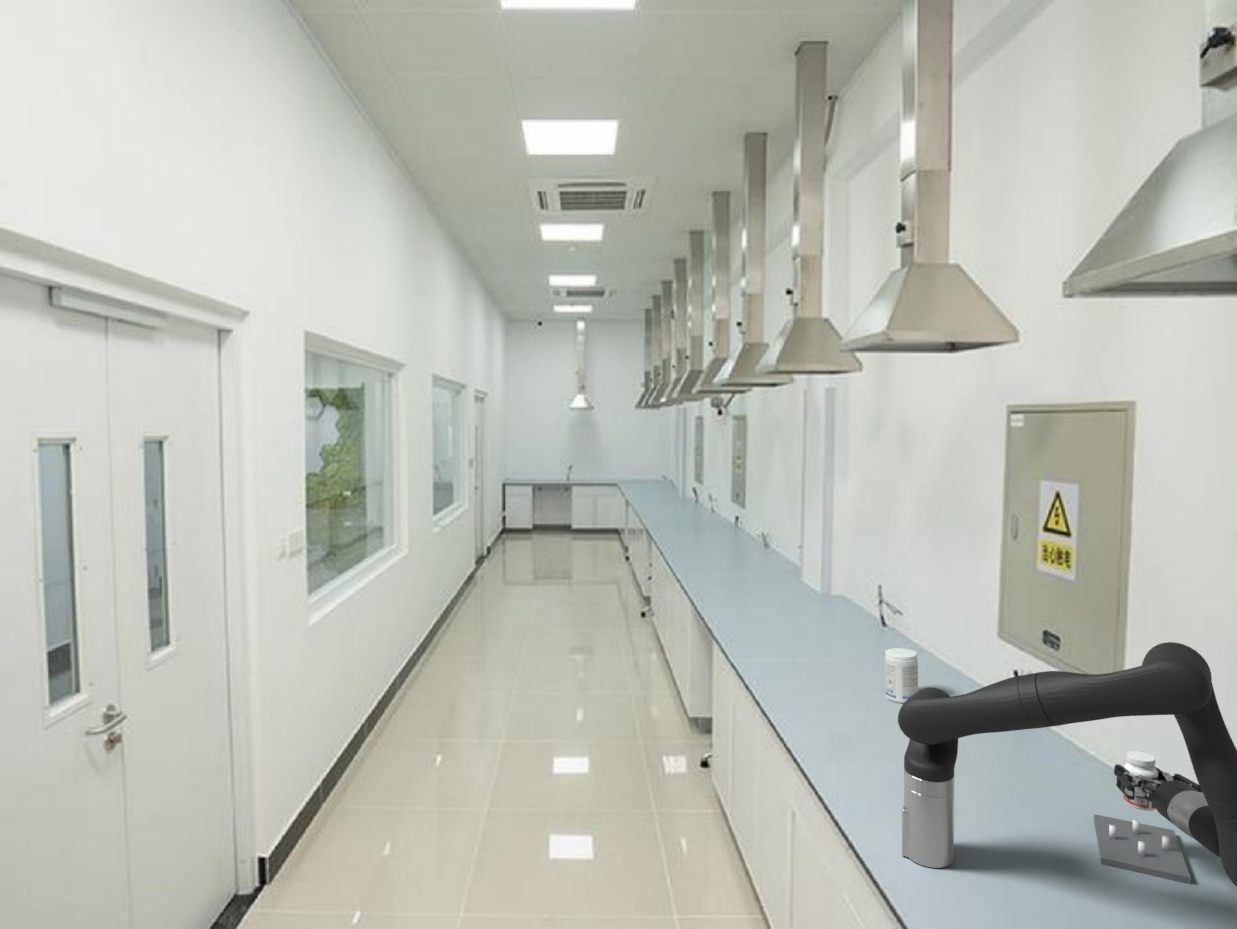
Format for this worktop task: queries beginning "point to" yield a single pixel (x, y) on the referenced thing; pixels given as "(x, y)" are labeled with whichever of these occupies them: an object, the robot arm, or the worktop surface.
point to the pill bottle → (1142, 766)
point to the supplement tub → (900, 674)
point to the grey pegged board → (1140, 848)
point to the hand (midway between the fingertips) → (1133, 769)
